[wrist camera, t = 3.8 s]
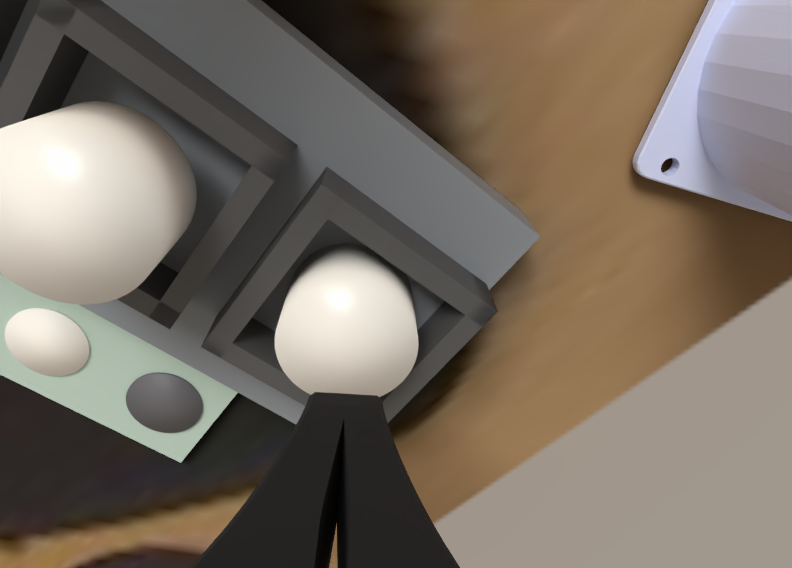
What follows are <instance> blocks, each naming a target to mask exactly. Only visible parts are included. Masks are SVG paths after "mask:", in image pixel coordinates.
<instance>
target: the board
mask: <svg viewBox="0 0 792 568" xmlns="http://www.w3.org/2000/svg"><path fill="white" fill-rule="evenodd" d="M89 101H104V102H112V103H117V104H121V105H124V106H127V107H130V108H133V109H135V110H137V111H139V112H141V113H143V114H145V115H146V116H148V117H150V118H151V119H153V120H154V121H156V122H157V123H158V124H159V125H161V126H162V127H163V128H164V129H165V130H166V131H167V132H168V133H169V134H170V135H171V136H172V137H173V138H174V139H175V140H176V142H177V143H178V144H179V145H180V147H181V148H182V150H183V152H184V153H185V155H186V157H187V159H188V161H189V163H190V165H191V168H192V171H193V173H194V178H195V182H196V191H197V199H196V207H195V212H194V215H193V218H192V221H191V223H190V225H189V226H188V228H187V230H186V231H185V232H184V234H183V235H182V236H181V237H180V239H179V240H178V241H177V242H176V243H175V244H174V246H173V247H172V248H171V249H170V250H169V252H168V253H167V254H166V255H165V256H164V258H163V259H162V260H161V261H160V262H159V264H158V265H157V266H156V267H155V268H154V269H153V271H152V272H151V273H150V274H149V275H148V277H147V278H146V279H145V280H144V281H143V282H142V283H141V284H140V285H139V286H138V287H137V288H136V289H134V290H133V291H131V292H130V293H128V294H126V295H124V296H122V297H120V298H118V299H115V300H112V301H109V302H104V303H99V304H87V305H83V304H78V305H80V306H82V307H84V308H86V309H87V310H89V311H91V312H93V313H95V314H96V315H98V316H100V317H102V318H104V319H105V320H107V321H109V322H111V323H113V324H115V325H116V326H118V327H120V328H122V329H124V330H125V331H127V332H129V333H131V334H133V335H135V336H136V337H138V338H140V339H142V340H144V341H145V342H147V343H149V344H151V345H153V346H155V347H156V348H158V349H160V350H162V351H164V352H165V353H167V354H169V355H171V356H173V357H174V358H176V359H178V360H180V361H182V362H184V363H185V364H187V365H189V366H191V367H193V368H194V369H196V370H198V371H200V372H202V373H204V374H205V375H207V376H209V377H211V378H213V379H214V380H216V381H218V382H220V383H222V384H223V385H225V386H227V387H229V388H231V389H233V390H234V391H236V392H238V393H240V394H242V395H243V396H245V397H247V398H249V399H251V400H253V401H254V402H256V403H258V404H260V405H262V406H263V407H265V408H267V409H269V410H271V411H272V412H274V413H276V414H278V415H280V416H282V417H283V418H285V419H287V420H289V421H291V422H292V423H294V424H297V423H298V421H299V419H300V417H301V415H302V413H303V410H304V408H305V406H306V404H307V401H308V398H309V396H310V394H308V393H306V392H305V391H303V390H302V389H300V388H299V387H298V386H296V385H295V384H294V383H293V382H292V381H291V380H290V379H289V378H288V377H287V375H286V374H285V373H284V371H283V370H282V368H281V366H280V364H279V362H278V359H277V356H276V351H275V332H276V328H277V325H278V321H279V318H280V315H281V312H282V308H283V305H284V302H285V299H286V295H287V292H288V289H289V285H290V282H291V279H292V277H293V275H294V273H295V271H296V270H297V268H298V267H299V266H300V265H301V263H302V262H303V261H304V260H305V259H307V258H308V257H309V256H310V255H312V254H313V253H315V252H317V251H319V250H321V249H323V248H326V247H329V246H332V245H337V244H346V243H353V244H362V245H366V246H367V247H369V248H370V249H372V250H373V251H374V252H376V253H377V254H379V255H380V256H382V257H383V258H384V259H386V260H387V261H389V262H390V263H392V264H393V265H394V266H396V267H397V268H399V269H400V270H402V271H403V272H404V273H405V274H406V276H407V277H408V279H409V282H410V285H411V289H412V295H413V302H414V310H415V318H416V325H417V333H418V354H417V358H416V361H415V363H414V366H413V368H412V370H411V371H410V373H409V375H408V376H407V377H406V378H405V379H404V381H403V382H402V383H401V384H399V385H398V386H397V387H396V388H395V389H393V390H392V391H390V392H389V393H387V394H385V395H383V396H381V397H379V398H380V399H381V400H382V402H383V408H384V412H385V416H386V419H387V423H389V422H390V421H391V420H392V419H393V417H394V416H395V415H396V414H397V413H398V412H399V411H400V410H401V409H402V408H403V407H404V406H405V405H406V404H407V403H408V402H409V401H410V400H411V399H412V398H413V397H414V396H415V395H416V394H417V393H418V392H419V391H420V390H421V389H422V388H423V387H424V386H425V385H426V384H427V383H428V382H429V381H430V380H431V379H432V378H433V377H434V376H435V375H436V374H437V373H438V372H439V371H440V370H441V369H442V368H443V367H444V366H445V365H446V363H447V362H448V361H449V360H450V359H451V358H452V357H453V356H454V355H455V354H456V353H457V352H458V351H459V350H460V349H461V348H462V347H463V346H464V345H465V344H466V343H467V342H468V341H469V340H470V339H471V338H472V337H473V336H474V335H475V334H476V333H477V332H478V331H479V330H480V329H481V328H482V327H483V326H484V325H485V324H486V323H487V322H488V321H489V320H490V319H491V318H492V317H493V316H494V315H495V314H496V313H497V312H498V311H497V309H496V306H495V304H494V301H493V299H492V296H491V294H490V291H489V290H490V289H491V288H492V287H493V286H494V285H495V284H496V283H497V282H498V280H499V279H500V278H501V277H502V276H503V275H504V274H505V273H506V272H507V271H508V270H509V269H510V268H511V267H512V266H513V265H514V264H515V263H516V262H517V261H518V260H519V259H520V257H521V256H522V255H523V254H524V253H525V252H526V251H527V250H528V249H529V248H530V247H531V246H532V245H533V244H534V243H535V242H536V241H537V240H538V239H539V238H540V235H539V234H538V233H537V231H536V230H535V228H534V227H533V226H532V224H531V223H530V222H529V220H528V219H527V217H526V216H525V215H524V213H523V212H522V211H521V210H519V209H518V208H517V207H516V206H514V205H513V204H512V203H511V202H509V201H508V200H507V199H506V198H504V197H503V196H502V195H501V194H500V193H498V192H497V191H496V190H495V189H493V188H492V187H491V186H490V185H488V184H487V183H486V182H485V181H484V180H482V179H481V178H480V177H479V176H477V175H476V174H475V173H474V172H472V171H471V170H470V169H469V168H468V167H466V166H465V165H464V164H463V163H461V162H460V161H459V160H458V159H456V158H455V157H454V156H453V155H452V154H450V153H449V152H448V151H447V150H445V149H444V148H443V147H442V146H440V145H439V144H438V143H437V142H436V141H434V140H433V139H432V138H431V137H429V136H428V135H427V134H426V133H424V132H423V131H422V130H421V129H419V128H418V127H417V126H416V125H415V124H413V123H412V122H411V121H410V120H408V119H407V118H406V117H405V116H403V115H402V114H401V113H400V112H399V111H397V110H396V109H395V108H394V107H392V106H391V105H390V104H389V103H387V102H386V101H385V100H384V99H383V98H381V97H380V96H379V95H378V94H376V93H375V92H374V91H373V90H371V89H370V88H369V87H368V86H367V85H365V84H364V83H363V82H362V81H360V80H359V79H358V78H357V77H355V76H354V75H353V74H352V73H351V72H349V71H348V70H347V69H346V68H344V67H343V66H342V65H341V64H339V63H338V62H337V61H336V60H334V59H333V58H332V57H331V56H330V55H328V54H327V53H326V52H325V51H323V50H322V49H321V48H320V47H318V46H317V45H316V44H315V43H314V42H312V41H311V40H310V39H309V38H307V37H306V36H305V35H304V34H302V33H301V32H300V31H299V30H298V29H296V28H295V27H294V26H293V25H291V24H290V23H289V22H288V21H286V20H285V19H284V18H283V17H282V16H280V15H279V14H278V13H277V12H275V11H274V10H273V9H272V8H270V7H269V6H268V5H267V4H266V3H264V2H263V1H262V0H0V129H1V128H3V127H6V126H9V125H12V124H15V123H18V122H21V121H24V120H27V119H30V118H33V117H36V116H40V115H43V114H46V113H49V112H52V111H55V110H58V109H61V108H64V107H67V106H70V105H73V104H77V103H82V102H89Z"/></svg>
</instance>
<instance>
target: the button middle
mask: <svg viewBox="0 0 792 568" xmlns="http://www.w3.org/2000/svg"><path fill="white" fill-rule="evenodd" d="M196 199H197V191H196V182H195V178H194V173H193V171H192V168H191V165H190V163H189V161H188V159H187V157H186V155H185V153H184V152H183V150H182V148H181V147H180V145H179V144H178V143H177V142H176V140H175V139H174V138H173V137H172V136H171V135H170V134H169V133H168V132H167V131H166V130H165V129H164V128H163V127H162V126H161V125H159V124H158V123H157V122H156V121H154V120H153V119H151V118H150V117H148V116H146V115H145V114H143V113H141V112H139V111H137V110H135V109H133V108H130V107H127V106H124V105H121V104H117V103H112V102H104V101H89V102H82V103H77V104H73V105H70V106H67V107H64V108H61V109H58V110H55V111H52V112H49V113H46V114H43V115H40V116H36V117H33V118H30V119H27V120H24V121H21V122H18V123H15V124H12V125H9V126H6V127H3V128H1V129H0V272H1V273H2V274H3V275H4V276H6V277H7V278H8V279H10V280H11V281H13V282H14V283H16V284H17V285H19V286H21V287H22V288H24V289H26V290H28V291H30V292H32V293H34V294H37V295H39V296H42V297H45V298H47V299H51V300H55V301H58V302H63V303H70V304H83V305H87V304H99V303H104V302H109V301H112V300H115V299H118V298H120V297H122V296H124V295H126V294H128V293H130V292H131V291H133V290H134V289H136V288H137V287H138V286H139V285H140V284H141V283H142V282H143V281H144V280H145V279H146V278H147V277H148V275H149V274H150V273H151V272H152V271H153V269H154V268H155V267H156V266H157V265H158V264H159V262H160V261H161V260H162V259H163V258H164V256H165V255H166V254H167V253H168V252H169V250H170V249H171V248H172V247H173V246H174V244H175V243H176V242H177V241H178V240H179V239H180V237H181V236H182V235H183V234H184V232H185V231H186V230H187V228H188V226H189V225H190V223H191V221H192V218H193V215H194V212H195V207H196Z"/></svg>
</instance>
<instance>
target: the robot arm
mask: <svg viewBox="0 0 792 568" xmlns="http://www.w3.org/2000/svg"><path fill="white" fill-rule="evenodd" d="M669 158H672V160H673V163H672V166H671V167H670V169H669V170H667V171H665V172H662V171H661V166H662V164H663V162H664V161H665V160H667V159H669ZM632 162H633V168H634V169H635V171H636V172H637V173H638V174H640V175H641V176H643V177H645V178H647V179H651V180H654V181H657V182H661V183H664V184H667V185H671V186H674V187H677V188H681V189H684V190H687V191H691V192H694V193H698V194H701V195H704V196H708V197H711V198H714V199H718V200H721V201H724V202H728V203H731V204H734V205H738V206H741V207H744V208H748V209H751V210H755V211H758V212H761V213H765V214H768V215H771V216H775V217H778V218H781V219H785V220H788V221H791V222H792V0H709V1H708V3H707V5H706V7H705V9H704V11H703V13H702V15H701V18H700V20H699V22H698V24H697V26H696V28H695V30H694V32H693V34H692V36H691V38H690V40H689V42H688V44H687V47H686V49H685V51H684V53H683V55H682V57H681V59H680V61H679V63H678V65H677V67H676V69H675V71H674V73H673V76H672V78H671V80H670V82H669V84H668V86H667V88H666V90H665V92H664V94H663V96H662V98H661V100H660V102H659V105H658V107H657V109H656V111H655V113H654V115H653V117H652V119H651V121H650V123H649V125H648V127H647V129H646V131H645V134H644V136H643V138H642V140H641V142H640V144H639V146H638V148H637V150H636V152H635V154H634V158H633V161H632ZM336 523H337V559H338V568H460V567H459V565H458V564H457V563H456V561H455V559H454V558H453V556H452V554H451V553H450V551H449V550H448V548H447V547H446V545H445V543H444V542H443V540H442V538H441V537H440V535H439V533H438V532H437V530H436V528H435V526H434V525H433V523H432V521H431V519H430V517H429V516H428V514H427V512H426V510H425V508H424V506H423V504H422V502H421V501H420V499H419V497H418V495H417V493H416V491H415V489H414V487H413V485H412V482H411V480H410V478H409V476H408V474H407V471H406V469H405V467H404V465H403V462H402V460H401V458H400V456H399V453H398V451H397V448H396V446H395V443H394V440H393V437H392V435H391V432H390V429H389V426H388V423H387V419H386V416H385V412H384V408H383V402H382V400H381V399H380V398H379V397H378V396H376V395H359V394H342V393H325V392H314V393H313V394H312V395H310V396H309V398H308V401H307V404H306V406H305V408H304V410H303V413H302V415H301V417H300V419H299V421H298V423H297V424H296V426H295V428H294V430H293V432H292V433H291V435H290V437H289V439H288V440H287V442H286V444H285V445H284V447H283V448H282V450H281V451H280V453H279V455H278V456H277V458H276V459H275V461H274V463H273V464H272V466H271V467H270V469H269V470H268V472H267V473H266V475H265V476H264V477H263V479H262V480H261V482H260V483H259V484H258V486H257V487H256V488H255V490H254V491H253V493H252V494H251V495H250V497H249V498H248V499H247V501H246V502H245V504H244V505H243V506H242V508H241V509H240V510H239V511H238V513H237V514H236V515H235V516H234V518H233V519H232V520H231V521H230V523H229V524H228V525H227V526H226V528H225V529H224V530H223V531H222V532H221V534H220V535H219V536H218V537H217V538H216V539H215V540H214V542H213V543H212V544H211V545H210V546H209V547H208V549H207V550H206V551H205V552H204V553H203V554H202V555H201V556H200V557H199V559H198V560H197V561H196V562H195V563H194V564H193V565H192V566H191V567H190V568H329V564H330V558H331V552H332V546H333V541H334V535H335V529H336Z"/></svg>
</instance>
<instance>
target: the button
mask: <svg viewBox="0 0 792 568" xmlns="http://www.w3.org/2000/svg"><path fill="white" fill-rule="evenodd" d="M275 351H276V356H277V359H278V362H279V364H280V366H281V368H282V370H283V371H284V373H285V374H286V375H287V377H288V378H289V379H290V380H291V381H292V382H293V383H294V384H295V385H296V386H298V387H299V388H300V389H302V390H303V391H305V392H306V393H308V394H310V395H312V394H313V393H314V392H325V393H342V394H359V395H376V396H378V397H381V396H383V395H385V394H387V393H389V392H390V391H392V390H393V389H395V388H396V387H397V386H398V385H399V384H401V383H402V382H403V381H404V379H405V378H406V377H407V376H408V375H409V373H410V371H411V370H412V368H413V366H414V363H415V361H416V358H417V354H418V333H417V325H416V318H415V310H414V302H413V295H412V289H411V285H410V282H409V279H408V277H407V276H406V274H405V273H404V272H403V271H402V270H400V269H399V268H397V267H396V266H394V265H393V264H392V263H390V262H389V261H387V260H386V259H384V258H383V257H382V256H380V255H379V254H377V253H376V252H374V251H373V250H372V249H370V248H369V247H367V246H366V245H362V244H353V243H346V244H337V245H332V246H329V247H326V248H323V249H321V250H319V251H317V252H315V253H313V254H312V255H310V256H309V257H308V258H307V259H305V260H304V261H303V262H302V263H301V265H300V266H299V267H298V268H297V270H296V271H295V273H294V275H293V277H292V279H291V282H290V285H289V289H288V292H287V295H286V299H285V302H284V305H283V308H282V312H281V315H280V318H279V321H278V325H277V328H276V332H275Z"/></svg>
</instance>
